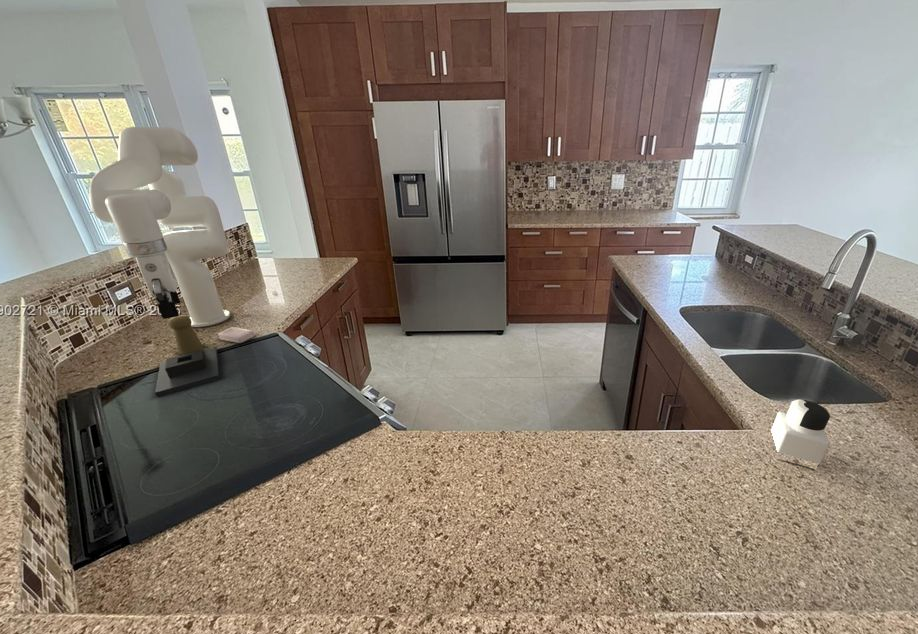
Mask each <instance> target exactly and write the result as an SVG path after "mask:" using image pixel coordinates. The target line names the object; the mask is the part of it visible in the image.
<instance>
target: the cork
mask: <svg viewBox="0 0 918 634" xmlns="http://www.w3.org/2000/svg"><path fill="white" fill-rule="evenodd" d="M191 324H192V321H191V318H190V315H189V316H188V315H186V314H179V316H177V317H172V318H169V319H168V326H169V327H170V329H172V330H173V334H174V338H175V342H176V347H177V352H178V354H179V355H184V354H188V353H192V352H197V351H201V350H203V348H204V345H203V343H202V342H201V340H200V338H199V337H198V335H197V333H196V331H195V330H194V327H192V326H191Z"/></svg>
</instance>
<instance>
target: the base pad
mask: <svg viewBox="0 0 918 634" xmlns="http://www.w3.org/2000/svg"><path fill="white" fill-rule="evenodd" d="M203 352H204V354H205V357H206V368H205V369H202V370H198V371H194V372H190V373H186V374H183V375H179V376H175V377H171V378H169V377H168V374H167V372H166V370H165V365H166V359H163V360H160V362H159V368H158V373H157V379H156V385H155V391H154V394H155V396H156V397H159V396H163V395H167V394H171V393H174V392H178V391H181V390H185V389H188V388H193V387H195V386H199V385H203V384H206V383H210V382H213V381H217V380H220V379H221V377H220V366H219V353H218V349H217V347H213V348H210V349H209V348H208V349H205V350H203Z"/></svg>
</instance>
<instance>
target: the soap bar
mask: <svg viewBox="0 0 918 634" xmlns="http://www.w3.org/2000/svg"><path fill="white" fill-rule="evenodd" d="M217 335H218V338H219V340H222V341H226V342H232V343H236V344H242V343H245V342H246V341H248V340H250V339H253V338H254V337H255V334H254V330H251V329H245V328H240V327H235V326H230V327H228V328H227V329H225V330H222V331H220V332H218V334H217Z"/></svg>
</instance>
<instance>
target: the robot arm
mask: <svg viewBox="0 0 918 634" xmlns="http://www.w3.org/2000/svg"><path fill="white" fill-rule="evenodd" d="M117 154H118V155H117V160H116V161H114V162H112V163H110V164H109V165H107V166H105V167H104V168H102V169H100V170H99V171H97V173H95V174H94V175H93V176H92V178H91V180H90V183H89V189H88V190H89V191H88V202H89V203H88V204H89V206H90V209H91V212H92V213H93V215H94V216H95V217H96V218H98V219H99V220H101V221H103V222H105V223H111V224H113V225H114V227H115V230H116V232H117V234H118V236H119V238H120V241H121V243H122V246H123V248H124V250H125V252H126V255H127V257H129V258H134V259H135V261H136V263H137V266H138V268H139V271H140V274H141V276H142V278H143V281H144V283H145V285H146V287H147V289H148V292H149V294H150V295H151V296H154V298H155V302H156V306H157V309H158V310H159V314H160V315H161V318H162V320H166V319H171V318H173V317H177V316H179V315H180V313H179V310H178V309H177V306H176V305H178V304H180V303H181V299H180V297H179V294H178V292H177V290H178V288H179V290H180V293H181V296H182V298H183V301H184V304H185V306H186V308H187V312H188V314H189V317H190V318H191V321H192V324H191V326H192V328H203V327H204V328H205V327H210V326H215V325H217V324H220V323H223V322H225V321H227V320H228V319H229V318H230V317H231V312H230V311H229V310H227V309H224V307H223V305H222V301H221V298H220V296H219V293H218V289H217V287H216V285H215V281H214V278H213V275H212V272H211V270H210V269H209V268H208V266H207V265H205V264H204V263H203V262H201V261H200V260H204V259H212V258H213V259H214V258H221V257H225V256H227V254H228V252H229V244H228V241H227V236H226V233H225V228H224V225H223V222H222V218H221V214H220V211H219V208H218V206H217V204H216V202H215V201H214V199H212V198H211V197H209V196H207V195H206V196H205V195H187V192H186V189H185V184H184V182H183V180H182V179H181V178H180V177H178V175H176V174H175V173H173V172H172V171H171V170H169V169H168V168H166V167H167V166H169V167H170V166H172V167H173V166H174V167H175V166H193V165H196V163H197V162H198V160H199V156H198V155H199V153H198V151H197V147H196V146H195V143H193V141H192V140H191V139H190V137H188V136H187V135H186V134H185V133H183V132H182V131H181V130H179V129H176V128H173V127H167V126H130V127H129V126H128V127H126V128H123V129H122V130H121V131H120V132H119V137H118V152H117ZM145 186H148V187H149V188H143V187H145ZM139 188H140V189H139ZM158 221H159V222H160V223H161V225H163V226H165V227H167V228H191V227H202V226H203V227H205V228H202V229H200V228H199V229H189V230H188V229H186V230H176V231H170V232H165V233H164V234H163V232H162V229H161V227H160V225H159V222H158Z"/></svg>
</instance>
